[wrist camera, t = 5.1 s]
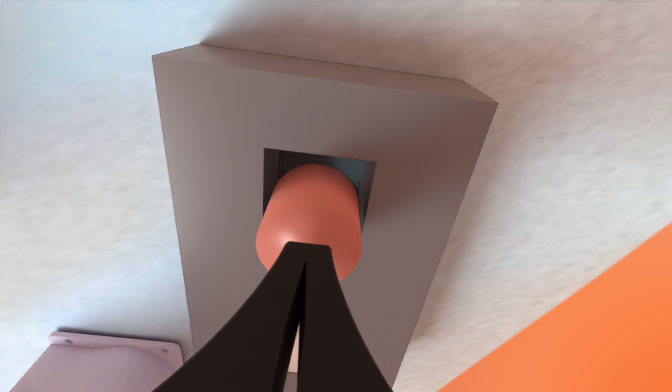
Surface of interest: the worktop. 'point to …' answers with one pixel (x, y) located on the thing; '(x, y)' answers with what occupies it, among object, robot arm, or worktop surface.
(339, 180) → the red button
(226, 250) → the block
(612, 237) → the worktop surface
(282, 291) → the robot arm
